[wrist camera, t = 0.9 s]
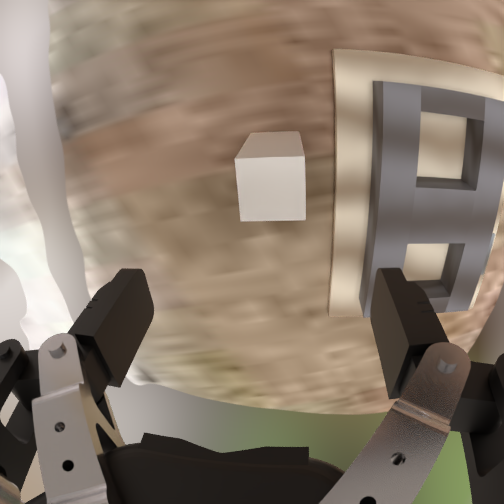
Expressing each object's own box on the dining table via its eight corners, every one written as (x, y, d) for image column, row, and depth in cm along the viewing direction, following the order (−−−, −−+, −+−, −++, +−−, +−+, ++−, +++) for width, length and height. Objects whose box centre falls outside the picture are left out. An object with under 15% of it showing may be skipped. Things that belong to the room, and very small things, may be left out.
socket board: (332, 49, 22) (339, 45, 18) (510, 78, 19) (535, 82, 16) (327, 310, 35) (330, 336, 31) (469, 303, 32) (481, 325, 29)
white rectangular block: (250, 132, 26) (234, 158, 18) (299, 131, 25) (304, 156, 18) (254, 177, 28) (240, 221, 20) (300, 176, 27) (305, 220, 20)
